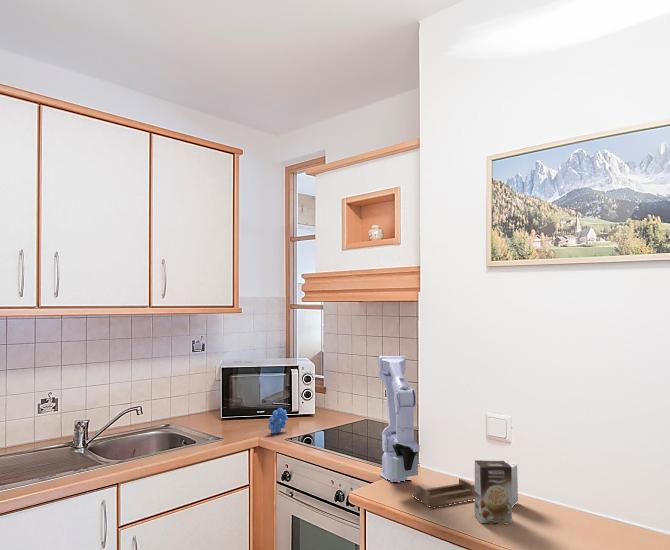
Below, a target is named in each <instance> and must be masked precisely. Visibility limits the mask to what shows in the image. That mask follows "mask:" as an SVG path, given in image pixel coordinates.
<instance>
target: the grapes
mask: <svg viewBox="0 0 670 550" xmlns="http://www.w3.org/2000/svg"><path fill="white" fill-rule="evenodd" d="M287 413H288V411H287V410H286V409H283V408H282V407H278V408H277V410H276V409H275V410H273V411H272V415H271V416H270V417H269V418H268V422H269V424H268V427H267V428H268V429H269V430H270V433H271V434H280V433H281V432H282V429H285V428H286V427H287V426H286V425H287V423H286V422H287V421H288V418H289V417H288V415H287Z"/></svg>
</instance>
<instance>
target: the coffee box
mask: <svg viewBox="0 0 670 550" xmlns="http://www.w3.org/2000/svg"><path fill="white" fill-rule="evenodd" d="M508 463H509V462H506V463H505V461H504V460H477V459H476V460H474V486H475V501H474V507H473V508H474V513H473V514H475V515H474V517H475V516H476V517H477V518H476V517H475V518H476V520H477V521H478V520H479V521H480V522H479V521H478V522H479V523H480V524H481V523H512V524H513V513H512V512H513V508H512V467H511V466H510V465H509V464H508Z"/></svg>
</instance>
